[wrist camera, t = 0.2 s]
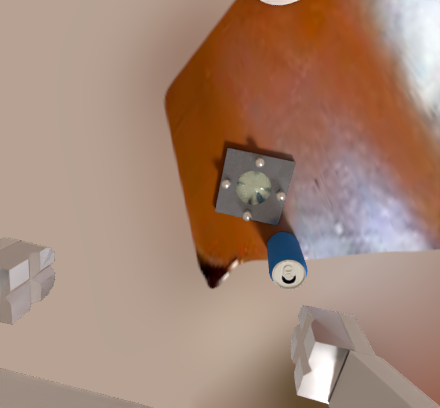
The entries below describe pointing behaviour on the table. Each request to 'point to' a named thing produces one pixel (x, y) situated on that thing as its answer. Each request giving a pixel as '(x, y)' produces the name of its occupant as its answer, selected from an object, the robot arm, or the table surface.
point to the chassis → (254, 186)
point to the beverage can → (286, 261)
